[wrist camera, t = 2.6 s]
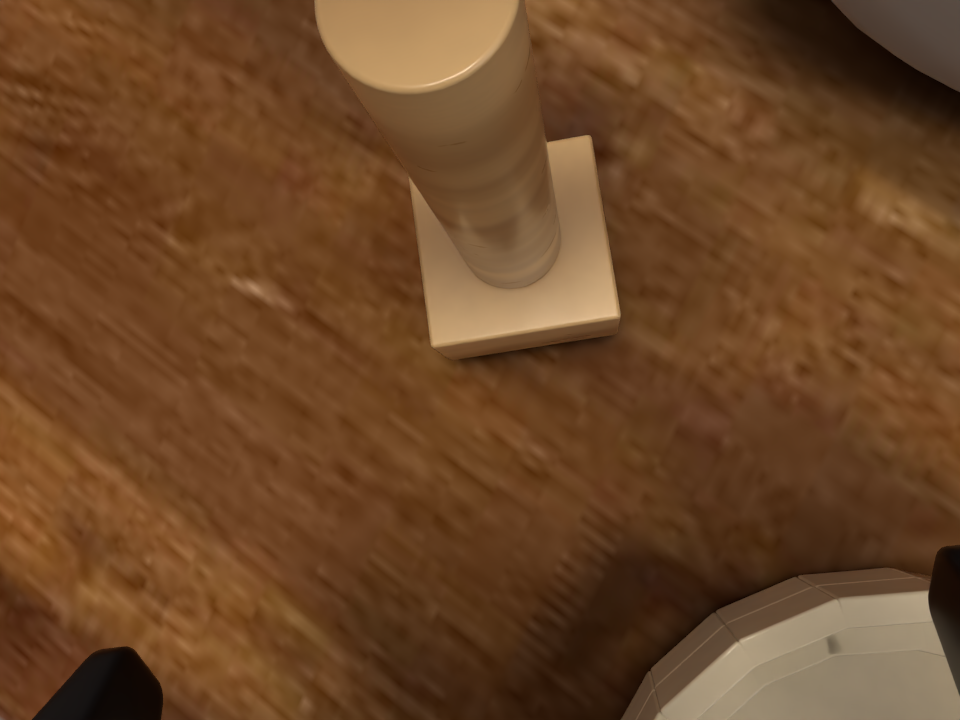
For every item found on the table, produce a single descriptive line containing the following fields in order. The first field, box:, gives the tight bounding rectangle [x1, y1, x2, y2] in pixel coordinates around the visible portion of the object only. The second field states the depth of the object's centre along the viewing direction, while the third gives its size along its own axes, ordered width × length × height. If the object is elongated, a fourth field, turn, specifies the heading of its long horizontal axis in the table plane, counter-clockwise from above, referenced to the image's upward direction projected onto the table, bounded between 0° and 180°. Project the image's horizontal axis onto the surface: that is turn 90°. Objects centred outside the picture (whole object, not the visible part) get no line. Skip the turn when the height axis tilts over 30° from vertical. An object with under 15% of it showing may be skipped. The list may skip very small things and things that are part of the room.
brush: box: [315, 0, 621, 360], centre depth 15 cm, size 4×4×14 cm
